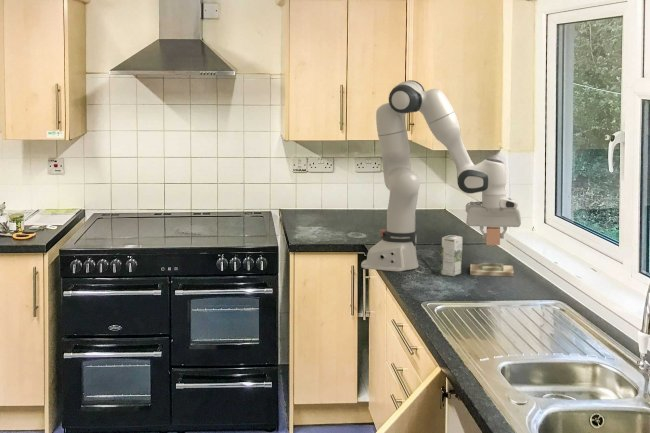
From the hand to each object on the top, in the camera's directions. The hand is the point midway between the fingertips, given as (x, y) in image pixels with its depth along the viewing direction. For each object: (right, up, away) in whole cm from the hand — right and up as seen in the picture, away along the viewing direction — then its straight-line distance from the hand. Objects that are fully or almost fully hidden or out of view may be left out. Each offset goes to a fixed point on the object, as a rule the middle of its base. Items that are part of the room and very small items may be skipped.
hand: (493, 238), depth 332 cm
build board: (0, -13, +2) cm, 13 cm away
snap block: (0, -2, 0) cm, 2 cm away
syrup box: (-16, -14, -1) cm, 21 cm away
